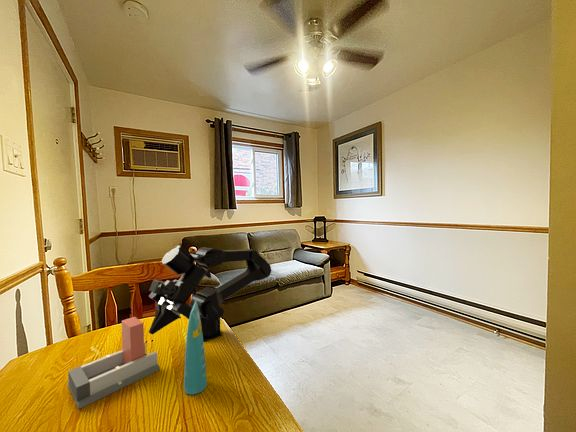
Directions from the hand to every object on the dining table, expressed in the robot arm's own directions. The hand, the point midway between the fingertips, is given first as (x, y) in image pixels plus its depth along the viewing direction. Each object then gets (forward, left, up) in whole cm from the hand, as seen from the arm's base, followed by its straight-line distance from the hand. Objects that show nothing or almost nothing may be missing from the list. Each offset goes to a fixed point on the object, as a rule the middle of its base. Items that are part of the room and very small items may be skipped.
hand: (150, 333), depth 66 cm
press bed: (+8, +2, -8) cm, 11 cm away
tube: (-7, +17, -8) cm, 20 cm away
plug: (+4, +1, -6) cm, 8 cm away
